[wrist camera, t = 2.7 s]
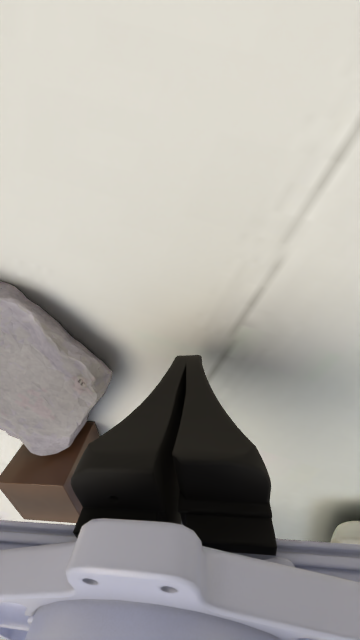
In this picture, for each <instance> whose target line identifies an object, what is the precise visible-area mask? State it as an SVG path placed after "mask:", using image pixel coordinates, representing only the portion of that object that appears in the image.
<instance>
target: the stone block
mask: <svg viewBox="0 0 360 640" xmlns="http://www.w3.org/2000/svg"><path fill="white" fill-rule="evenodd" d="M111 377H112V371H111V370H110V369H109V368H108V367H107V366H106V365H105V363H104V362H103V361H102V360H100V359H98V358H97V357H96V356H95V355H94V354H92V353H91V352H90V351H89V350H88V349H87V348H86V347H85V346H84V345H83V344H81V343H80V342H79V341H77V340H76V339H74V338H73V337H72V336H71V335H69V333H68V332H67V331H66V330H65V329H64V328H63V327H62V326H61V325H60V323H58V322H57V321H56V320H55V319H54V318H53V317H51V316H50V315H49V314H48V313H47V312H46V311H44V310H43V309H42V308H41V307H39V306H38V305H36V304H35V303H33V302H32V301H30V300H29V299H27V298H26V297H25V296H24V294H23V293H22V292H21V291H20V290H18V289H17V288H16V287H15V286H13V285H11V284H8V283H5V282H0V429H1V430H4V431H6V432H7V433H8V434H9V435H10V436H13V437H15V438H18V439H20V440H21V441H22V442H23V443H24V445H25V446H26V447H27V449H28V450H29V451H30V452H31V453H33V454H36V455H40V456H45V455H52V454H56V453H59V452H61V451H63V450H65V449H66V448H68V447H70V446H71V444H72V443H73V441H74V439H75V438H76V436H77V435H78V433H79V432H80V430H81V429H82V428H83V426H84V425H85V423H86V421H87V418H88V415H89V411H90V410H91V409H92V408H93V407H94V405H95V404H96V403H97V402H98V400H99V399H100V398H101V397H102V396H103V394H104V393H105V391H106V389H107V387H108V385H109V383H110V381H111Z"/></svg>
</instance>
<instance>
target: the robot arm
mask: <svg viewBox="0 0 360 640" xmlns="http://www.w3.org/2000/svg"><path fill="white" fill-rule="evenodd" d="M71 486H72V489H73V491H74V493H75V495H76V496H77V498H78V500H79V502H80V503H81V505H82V507H83V508H82V510H81V513H80V516H79V518H78V521H77V523H76V525H63V524H48V523H33V522H18V521H3V520H0V638H2V639H6V640H360V544H345V543H330V542H315V541H301V540H286V539H275V534H274V529H273V524H272V519H271V518H272V512H271V507H270V502H269V501H270V492H271V481H270V477H269V474H268V472H267V469H266V466H265V464H264V462H263V460H262V458H261V456H260V454H259V452H258V450H257V448H256V446H255V445H254V444H253V443H252V442H251V441H250V440H249V439H248V438H247V437H246V436H245V435H244V434H243V433H242V432H241V431H240V429H239V428H238V427H237V426H236V425H235V423H234V422H233V421H232V420H231V418H230V417H229V416H228V414H227V413H226V412H225V410H224V409H223V407H222V406H221V404H220V403H219V401H218V400H217V398H216V396H215V394H214V392H213V391H212V389H211V387H210V384H209V382H208V380H207V378H206V375H205V372H204V369H203V366H202V357H201V356H200V355H190V356H177V357H176V358H175V360H174V361H173V363H172V365H171V366H170V368H169V370H168V371H167V373H166V374H165V376H164V377H163V378H162V380H161V381H160V383H159V384H158V385H157V386H156V388H155V389H154V390H153V391H152V393H151V394H150V395H149V396H148V397H147V398H146V399H145V400H144V401H143V403H142V404H141V405H140V406H139V407H137V408H136V409H135V410H134V411H133V412H132V413H131V414H130V415H129V416H128V417H126V418H125V419H124V420H123V421H121V422H120V423H119V424H118V425H116V426H115V427H114V428H112V429H111V430H109V431H108V432H106V433H105V434H103V435H102V436H100V437H99V438H97V439H96V440H94V441H92V442H91V443H89V444H88V446H87V448H86V449H85V451H84V453H83V455H82V457H81V458H80V461H79V463H78V465H77V467H76V469H75V471H74V473H73V475H72V477H71Z"/></svg>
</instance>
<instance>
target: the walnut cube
mask: <svg viewBox="0 0 360 640" xmlns="http://www.w3.org/2000/svg"><path fill="white" fill-rule="evenodd" d="M99 437H100V436H99V433H98V430H97V428H96V425H95V422H86V423H85V425H84V426H83V428H82V429H81V430H80V432H79V433H78V435H77V436H76V438H75V439H74V441H73V443H72V444H71V446H70V447H68V448H66V449H65V450H63V451H61V452H59V453H56V454H52V455H45V456H40V455H36V454H33V453H31V452H30V451H29V450H28V449H27V447H26V446H25V445H24V444H23V445H22V446H21V448H20V449H19V450H18V452H17V453H16V454H15V456H14V457H13V459H12V460H11V461H10V463H9V464H8V465H7V467H6V468H5V469H4V471H3V472H2V474H1V475H0V489H1V491H2V492H3V493H4V494H5V496H6V497H7V498H8V499H9V501H10V502H11V503H12V505H13V506H14V507H15V508H16V510H17V511H18V512H19V513H20V515H21V516H22V517H23V518H24V519H29V520H42V521H56V522H69V523H77V521H78V518H79V516H80V513H81V510H82V508H83V507H82V505H81V503H80V502H79V500H78V498H77V496H76V495H75V493H74V491H73V489H72V486H71V477H72V475H73V473H74V471H75V469H76V467H77V465H78V463H79V461H80V458H81V457H82V455H83V453H84V451H85V449H86V448H87V446H88V444H89V443H91V442H92V441H94V440H96V439H97V438H99Z"/></svg>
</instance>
